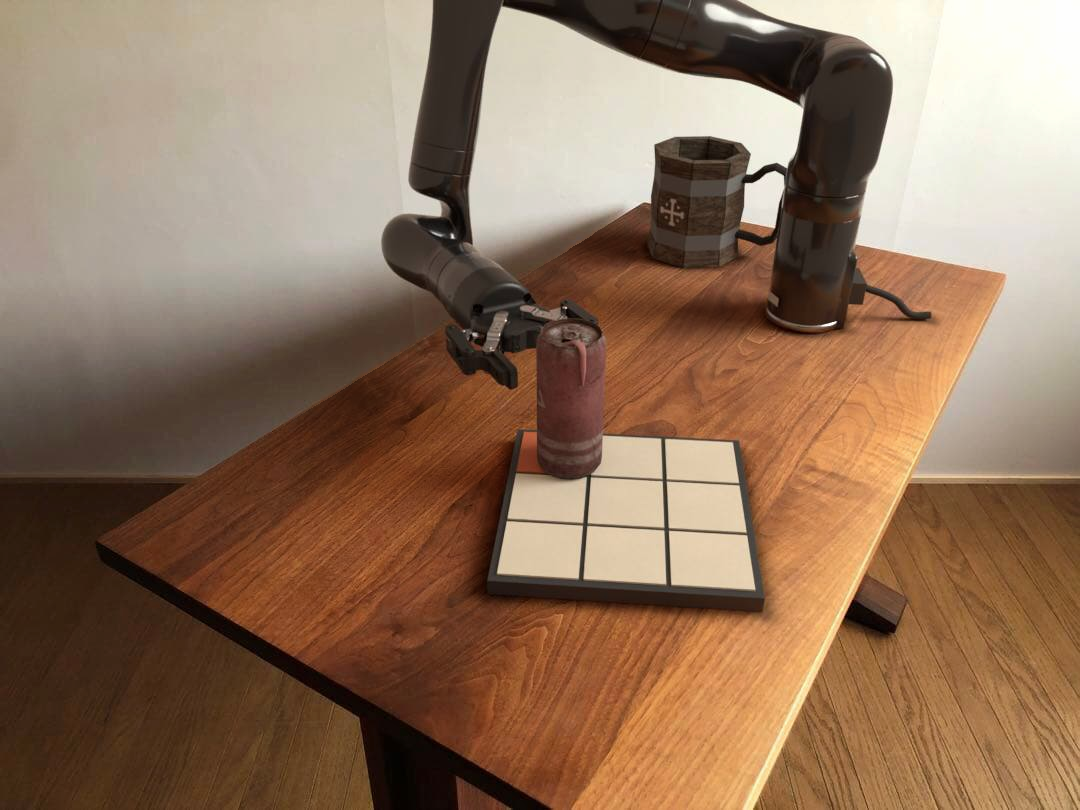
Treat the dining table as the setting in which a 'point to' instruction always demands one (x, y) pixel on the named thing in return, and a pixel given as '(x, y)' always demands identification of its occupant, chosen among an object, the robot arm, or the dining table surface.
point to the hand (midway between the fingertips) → (557, 369)
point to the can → (570, 397)
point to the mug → (702, 201)
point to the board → (631, 527)
